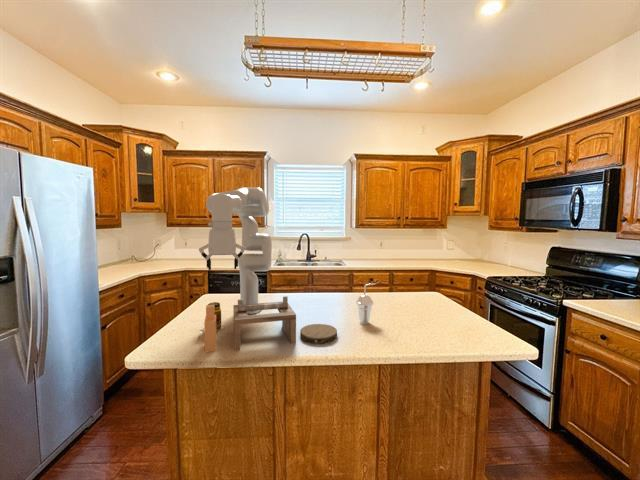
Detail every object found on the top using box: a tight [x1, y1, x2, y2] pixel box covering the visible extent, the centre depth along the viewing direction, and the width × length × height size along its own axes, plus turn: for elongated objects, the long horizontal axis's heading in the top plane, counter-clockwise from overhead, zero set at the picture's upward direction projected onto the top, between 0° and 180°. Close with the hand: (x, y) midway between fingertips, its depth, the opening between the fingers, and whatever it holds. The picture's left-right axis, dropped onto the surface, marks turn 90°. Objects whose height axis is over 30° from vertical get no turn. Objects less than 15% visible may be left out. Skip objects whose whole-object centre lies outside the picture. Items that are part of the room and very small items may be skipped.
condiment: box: [200, 301, 225, 333], centre depth 136 cm, size 7×8×12 cm
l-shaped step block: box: [203, 304, 218, 353], centre depth 117 cm, size 8×4×16 cm, turn 18°
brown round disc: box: [299, 323, 338, 345], centre depth 129 cm, size 16×16×3 cm
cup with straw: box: [355, 282, 377, 325], centre depth 146 cm, size 8×9×20 cm
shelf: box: [232, 295, 297, 351], centre depth 127 cm, size 20×24×17 cm
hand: (222, 269), depth 117 cm, fingers open, 9 cm apart
